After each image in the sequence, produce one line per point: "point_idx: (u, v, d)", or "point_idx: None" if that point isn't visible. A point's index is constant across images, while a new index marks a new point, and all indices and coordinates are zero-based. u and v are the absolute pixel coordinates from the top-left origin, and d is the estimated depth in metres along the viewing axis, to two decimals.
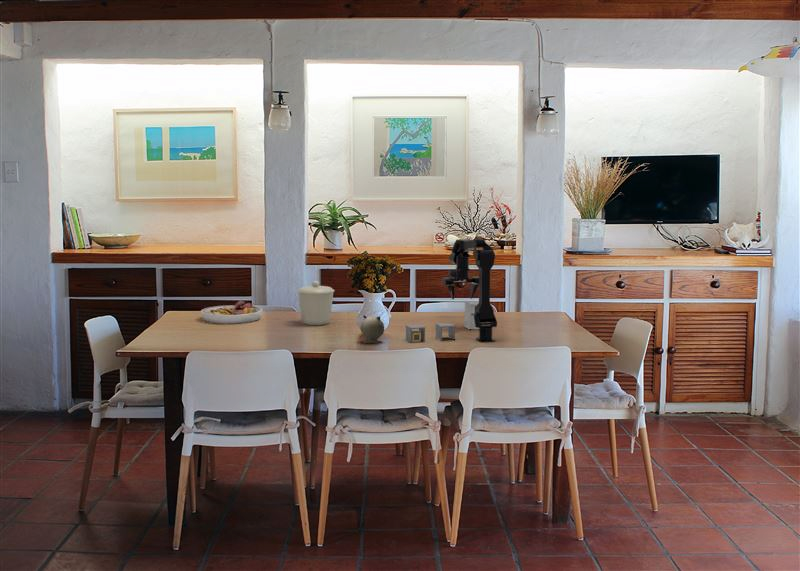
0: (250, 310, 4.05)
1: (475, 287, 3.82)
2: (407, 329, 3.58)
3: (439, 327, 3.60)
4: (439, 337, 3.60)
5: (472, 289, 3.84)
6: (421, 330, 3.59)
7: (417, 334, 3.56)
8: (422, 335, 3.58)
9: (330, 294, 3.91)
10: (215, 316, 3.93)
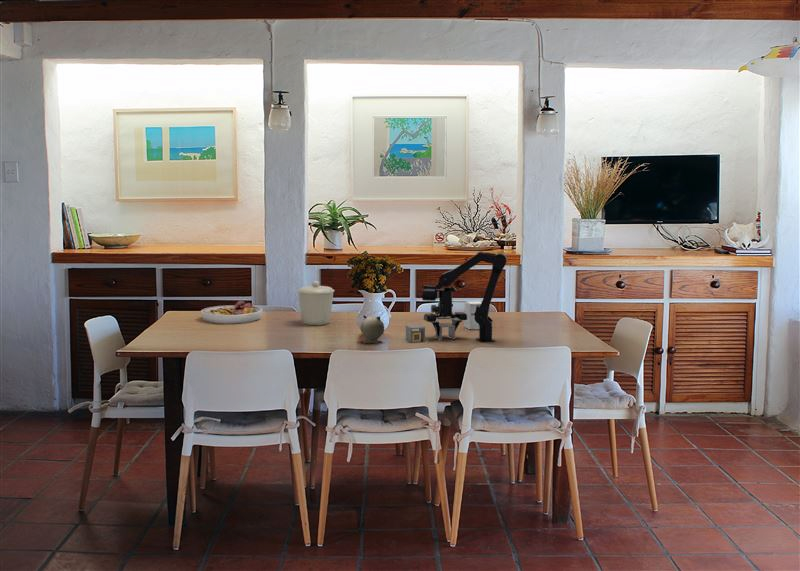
0: (250, 310, 4.05)
1: (456, 324, 3.61)
2: (407, 329, 3.58)
3: (439, 327, 3.60)
4: (439, 337, 3.60)
5: None
6: (421, 330, 3.59)
7: (417, 334, 3.56)
8: (422, 335, 3.58)
9: (330, 294, 3.91)
10: (215, 316, 3.93)
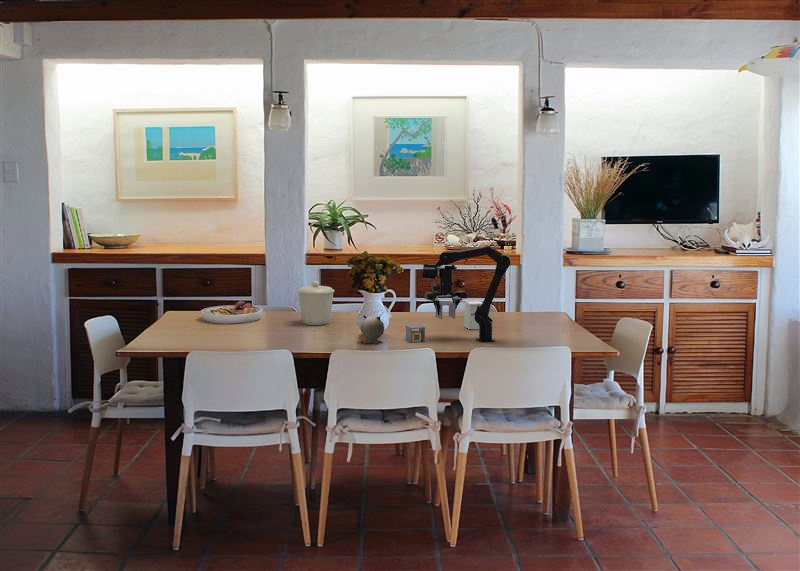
0: (250, 310, 4.05)
1: (457, 302, 3.59)
2: (407, 329, 3.58)
3: (439, 305, 3.58)
4: (440, 315, 3.58)
5: None
6: (421, 330, 3.59)
7: (417, 334, 3.56)
8: (422, 335, 3.58)
9: (330, 294, 3.91)
10: (215, 316, 3.93)
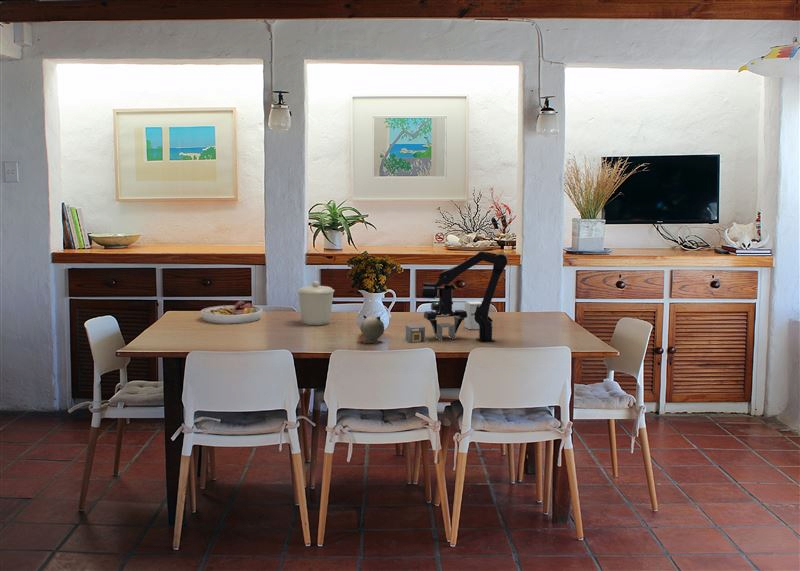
0: (250, 310, 4.05)
1: (459, 321, 3.61)
2: (407, 329, 3.58)
3: (439, 327, 3.60)
4: (440, 337, 3.60)
5: (456, 323, 3.62)
6: (421, 330, 3.59)
7: (417, 334, 3.56)
8: (422, 335, 3.58)
9: (330, 294, 3.91)
10: (215, 316, 3.93)
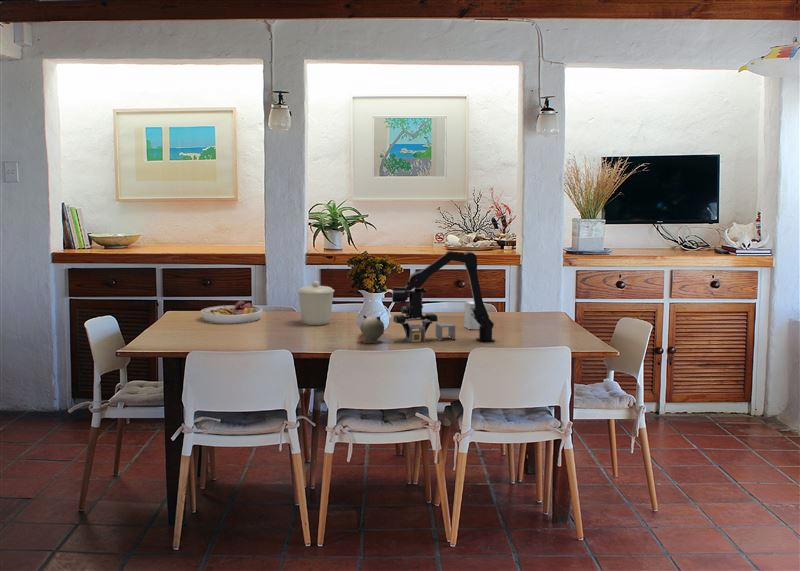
0: (250, 310, 4.05)
1: (427, 325, 3.57)
2: None
3: (439, 327, 3.60)
4: (440, 337, 3.60)
5: None
6: (421, 330, 3.59)
7: (417, 334, 3.56)
8: (422, 335, 3.58)
9: (330, 294, 3.91)
10: (215, 316, 3.93)
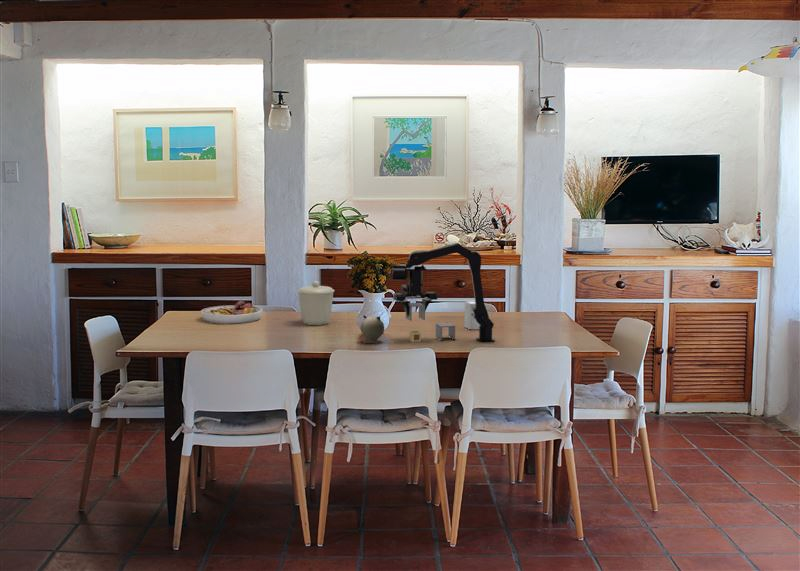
0: (250, 310, 4.05)
1: (426, 303, 3.56)
2: None
3: (439, 327, 3.60)
4: (440, 337, 3.60)
5: None
6: (421, 308, 3.58)
7: (417, 334, 3.56)
8: (422, 313, 3.57)
9: (330, 294, 3.91)
10: (215, 316, 3.93)
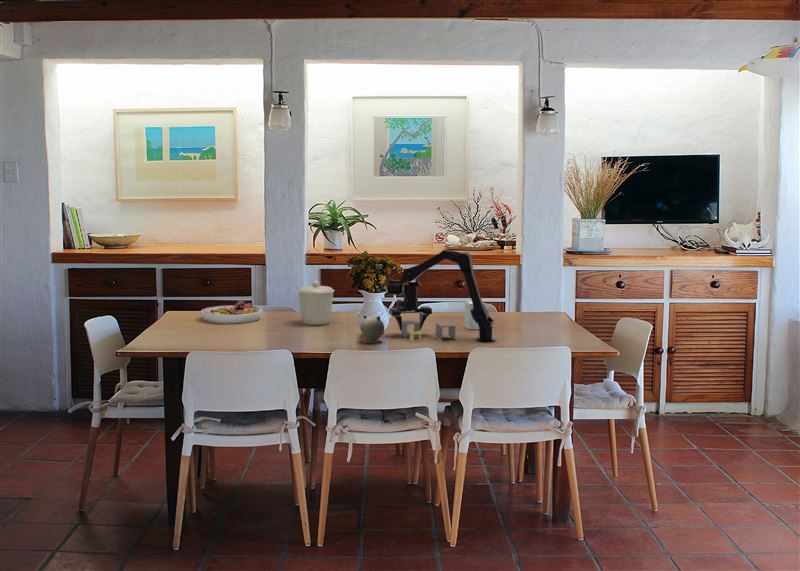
0: (250, 310, 4.05)
1: (424, 318, 3.67)
2: (403, 325, 3.67)
3: (439, 327, 3.60)
4: (440, 337, 3.60)
5: (421, 319, 3.68)
6: (416, 326, 3.69)
7: (417, 334, 3.56)
8: None
9: (330, 294, 3.91)
10: (215, 316, 3.93)
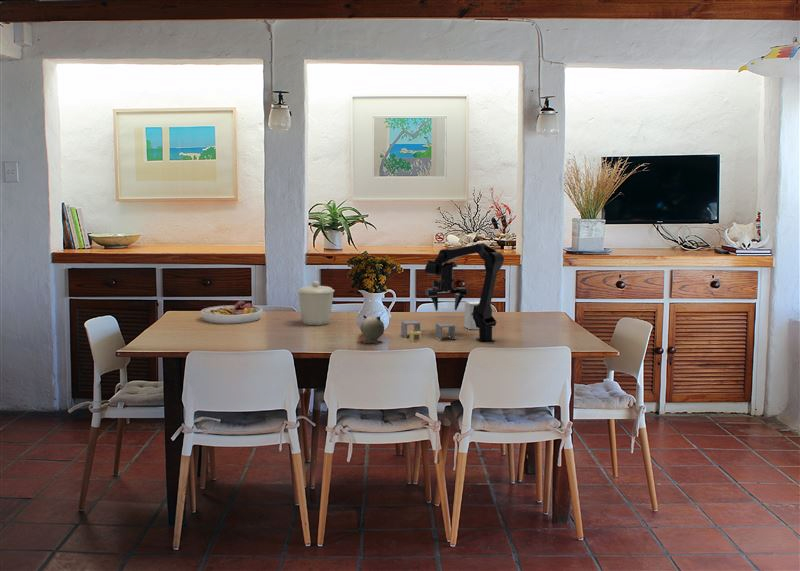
0: (250, 310, 4.05)
1: (459, 298, 3.70)
2: (403, 325, 3.67)
3: (439, 327, 3.60)
4: (440, 337, 3.60)
5: (456, 300, 3.72)
6: (416, 326, 3.69)
7: (417, 334, 3.56)
8: None
9: (330, 294, 3.91)
10: (215, 316, 3.93)
